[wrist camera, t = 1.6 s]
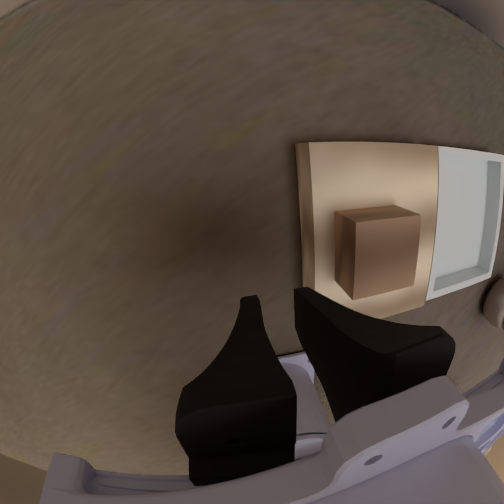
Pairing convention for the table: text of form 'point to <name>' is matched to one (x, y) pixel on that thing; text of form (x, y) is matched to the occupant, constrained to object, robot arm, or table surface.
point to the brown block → (376, 250)
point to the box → (465, 219)
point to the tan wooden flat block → (364, 196)
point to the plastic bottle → (495, 305)
